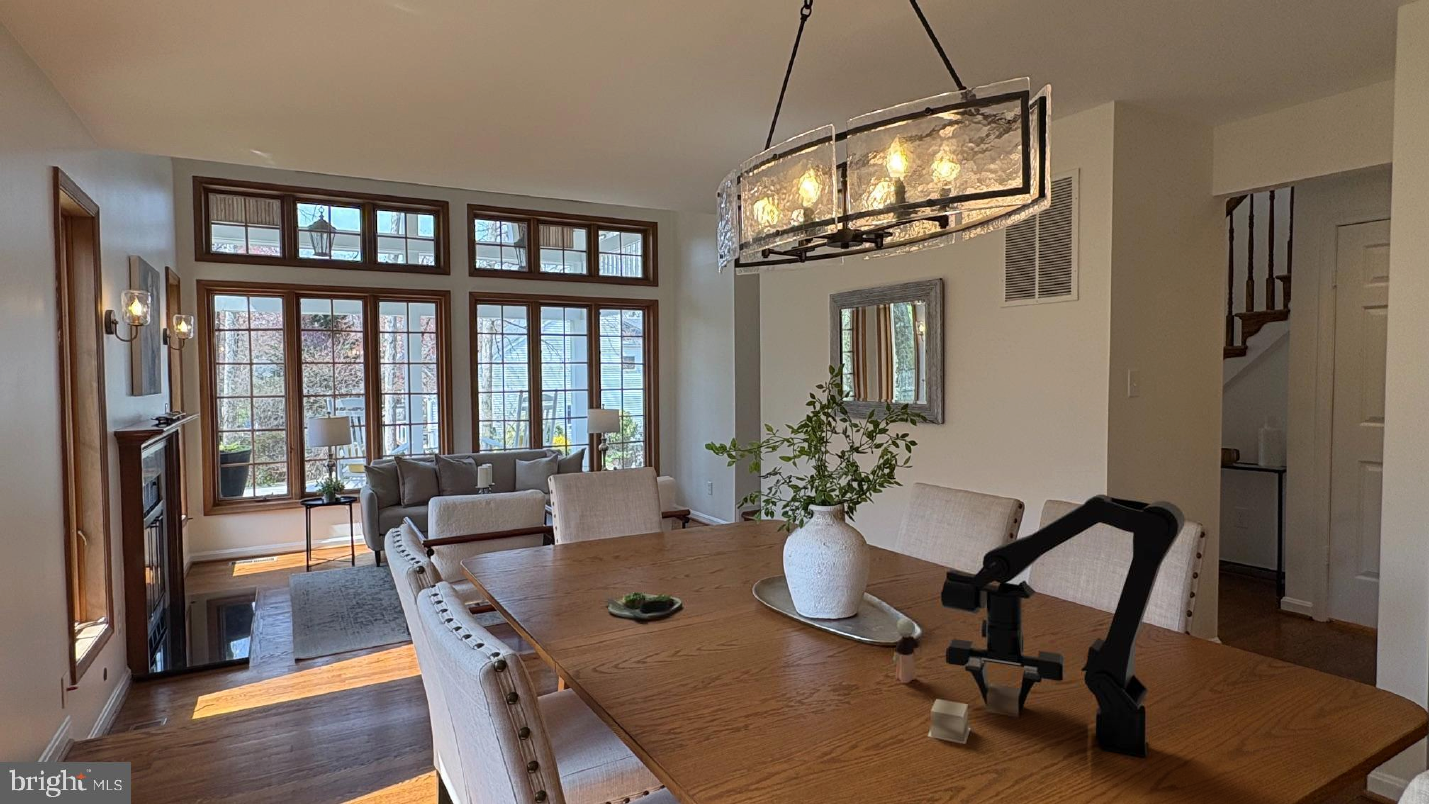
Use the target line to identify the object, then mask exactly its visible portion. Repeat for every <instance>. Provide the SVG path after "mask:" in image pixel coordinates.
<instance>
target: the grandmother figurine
mask: <svg viewBox="0 0 1429 804" xmlns="http://www.w3.org/2000/svg"><path fill="white" fill-rule="evenodd" d="M896 626H897V629H898V634H899V636H901V637H900V639H899V640H898V641H897V643H896V647H895V649H894V654H893V658H892V660H893V663H896V670H895V679H896V680H899V681H900V682H901V684H908V683H910V682H912V680H913V681H915V680H916V679H917V675H916V663H915V658H914V652H915V654H916V655H917V656H920V655H921V650H920V646H919V643H918V642H917V640H916V639H915V637H914V636H912V635H913V633H915V631H916V625H915V624H914V622H913V620H911V619H910V618H907V617H904V618H901V619H899V620H898V621H897V624H896Z"/></svg>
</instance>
